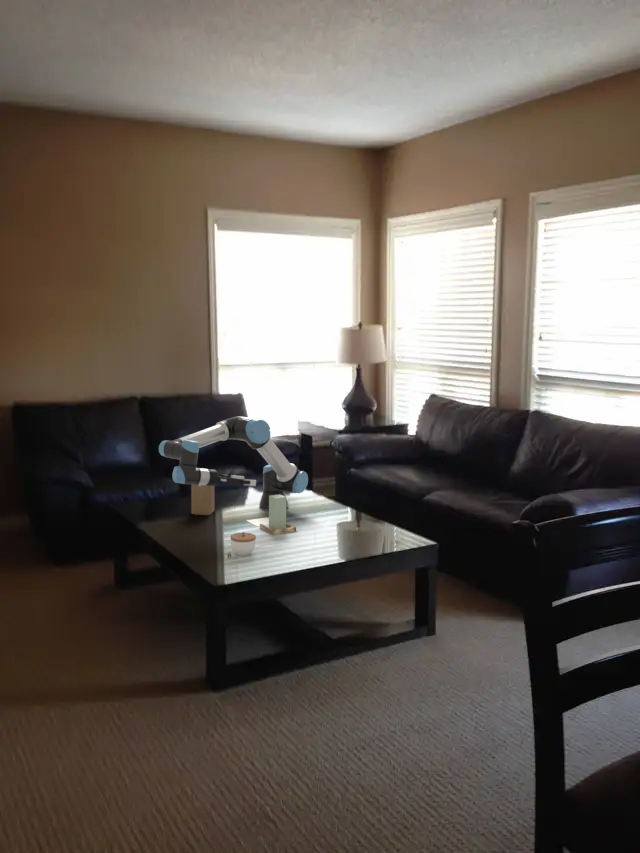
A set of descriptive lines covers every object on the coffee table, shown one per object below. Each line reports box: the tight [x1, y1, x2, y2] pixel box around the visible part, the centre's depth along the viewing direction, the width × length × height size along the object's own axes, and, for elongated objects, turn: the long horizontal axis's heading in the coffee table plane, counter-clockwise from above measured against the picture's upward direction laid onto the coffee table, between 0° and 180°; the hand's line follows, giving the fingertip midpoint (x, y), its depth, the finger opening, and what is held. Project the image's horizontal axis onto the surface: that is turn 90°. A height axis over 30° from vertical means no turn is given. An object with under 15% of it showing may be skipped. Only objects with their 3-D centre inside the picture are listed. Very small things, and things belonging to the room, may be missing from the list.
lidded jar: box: [230, 531, 257, 557], centre depth 318 cm, size 11×11×9 cm
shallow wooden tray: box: [259, 522, 297, 536], centre depth 354 cm, size 12×13×2 cm
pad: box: [245, 516, 269, 527], centre depth 367 cm, size 12×12×1 cm
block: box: [190, 484, 216, 516], centre depth 382 cm, size 10×10×20 cm
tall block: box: [268, 494, 287, 530], centre depth 354 cm, size 6×6×16 cm
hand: (249, 481), depth 348 cm, fingers open, 13 cm apart
